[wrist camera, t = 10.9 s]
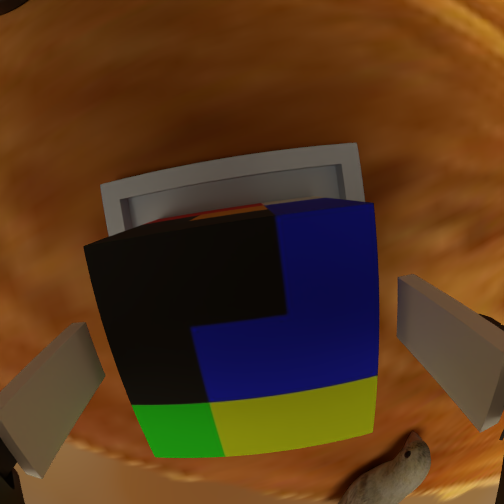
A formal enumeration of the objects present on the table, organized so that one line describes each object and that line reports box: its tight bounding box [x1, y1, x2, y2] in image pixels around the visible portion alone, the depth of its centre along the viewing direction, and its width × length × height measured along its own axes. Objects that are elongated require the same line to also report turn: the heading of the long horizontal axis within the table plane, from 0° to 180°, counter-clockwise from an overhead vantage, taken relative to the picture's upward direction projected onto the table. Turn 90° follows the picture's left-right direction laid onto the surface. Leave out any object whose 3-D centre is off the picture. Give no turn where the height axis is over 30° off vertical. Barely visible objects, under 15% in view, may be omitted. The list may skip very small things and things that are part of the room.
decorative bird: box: [338, 432, 431, 504], centre depth 23 cm, size 5×16×8 cm, turn 147°
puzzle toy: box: [83, 196, 379, 458], centre depth 16 cm, size 10×10×10 cm
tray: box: [100, 143, 365, 236], centre depth 21 cm, size 16×16×2 cm
